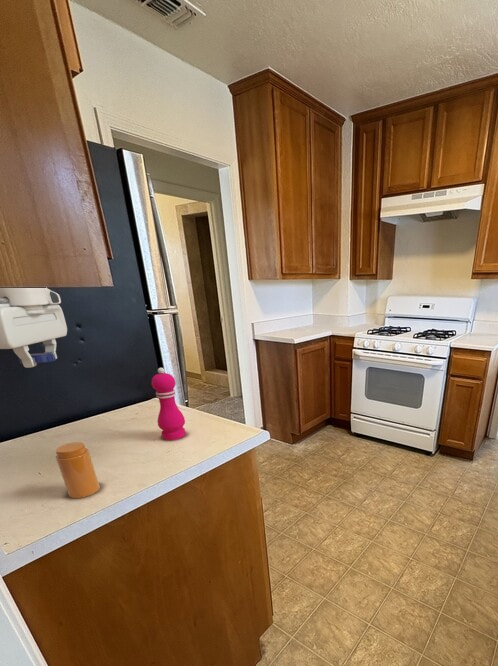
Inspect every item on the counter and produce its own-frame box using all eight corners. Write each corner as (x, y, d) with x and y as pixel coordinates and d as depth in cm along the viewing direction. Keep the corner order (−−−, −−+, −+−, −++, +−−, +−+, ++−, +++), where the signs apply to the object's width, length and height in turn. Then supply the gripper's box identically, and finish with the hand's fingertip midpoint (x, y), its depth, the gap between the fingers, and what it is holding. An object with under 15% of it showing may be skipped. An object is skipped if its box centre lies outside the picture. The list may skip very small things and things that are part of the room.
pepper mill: (187, 429, 107) (175, 363, 99) (187, 438, 100) (174, 369, 93) (161, 433, 104) (146, 366, 96) (160, 442, 98) (144, 371, 90)
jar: (65, 500, 72) (48, 454, 68) (73, 486, 77) (59, 443, 73) (95, 495, 74) (81, 450, 70) (102, 482, 79) (89, 439, 74)
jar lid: (62, 359, 80) (60, 352, 80) (39, 363, 75) (37, 355, 74) (36, 360, 81) (34, 353, 80) (12, 363, 75) (9, 356, 75)
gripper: (0, 297, 64) (26, 373, 69) (63, 294, 82) (80, 354, 88) (-39, 298, 63) (-9, 374, 68) (34, 295, 82) (53, 355, 87)
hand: (41, 363), depth 78 cm, fingers closed on jar lid, 6 cm apart
